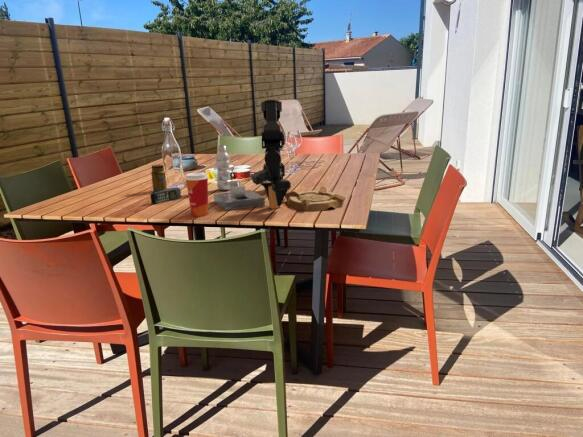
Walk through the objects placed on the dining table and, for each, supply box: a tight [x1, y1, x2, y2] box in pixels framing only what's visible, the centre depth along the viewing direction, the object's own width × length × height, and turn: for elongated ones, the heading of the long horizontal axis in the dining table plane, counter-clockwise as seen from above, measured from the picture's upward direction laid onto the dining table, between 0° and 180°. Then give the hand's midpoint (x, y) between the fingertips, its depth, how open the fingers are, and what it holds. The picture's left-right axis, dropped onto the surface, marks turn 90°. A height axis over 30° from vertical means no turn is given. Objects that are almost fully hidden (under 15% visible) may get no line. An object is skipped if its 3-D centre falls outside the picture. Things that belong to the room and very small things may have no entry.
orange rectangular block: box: [268, 186, 281, 210], centre depth 166 cm, size 3×3×8 cm
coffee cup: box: [184, 172, 209, 218], centre depth 158 cm, size 8×8×15 cm
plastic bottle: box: [214, 145, 232, 191], centre depth 196 cm, size 6×7×20 cm
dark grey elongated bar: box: [150, 187, 183, 205], centre depth 181 cm, size 5×3×15 cm
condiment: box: [150, 164, 168, 193], centre depth 197 cm, size 7×8×12 cm
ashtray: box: [284, 186, 346, 212], centre depth 171 cm, size 24×24×5 cm
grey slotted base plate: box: [213, 180, 266, 211], centre depth 174 cm, size 16×16×8 cm
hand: (274, 203), depth 167 cm, fingers open, 9 cm apart
